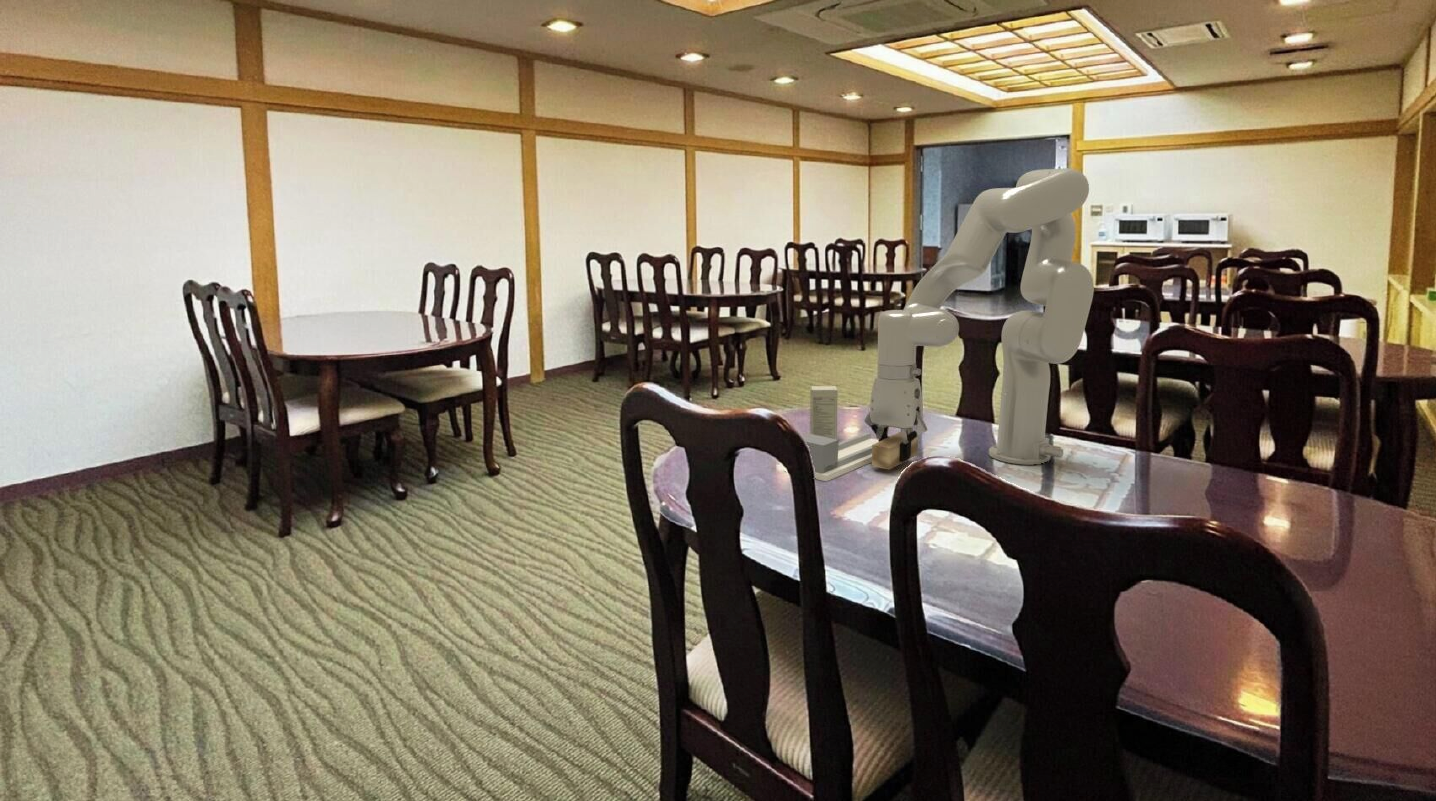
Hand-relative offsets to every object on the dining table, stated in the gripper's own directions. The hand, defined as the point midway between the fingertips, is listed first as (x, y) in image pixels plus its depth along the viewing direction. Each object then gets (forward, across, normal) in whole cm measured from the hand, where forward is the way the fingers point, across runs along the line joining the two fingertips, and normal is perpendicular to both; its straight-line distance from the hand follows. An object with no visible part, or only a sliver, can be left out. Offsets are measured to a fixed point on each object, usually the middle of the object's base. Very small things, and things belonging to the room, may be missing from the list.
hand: (894, 457), depth 177 cm
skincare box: (+2, +23, -8) cm, 25 cm away
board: (+2, +10, +3) cm, 11 cm away
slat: (+1, 0, 0) cm, 1 cm away
